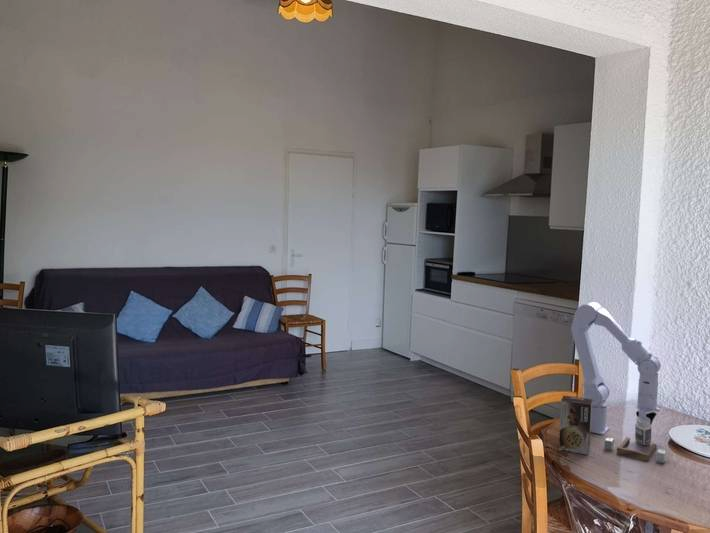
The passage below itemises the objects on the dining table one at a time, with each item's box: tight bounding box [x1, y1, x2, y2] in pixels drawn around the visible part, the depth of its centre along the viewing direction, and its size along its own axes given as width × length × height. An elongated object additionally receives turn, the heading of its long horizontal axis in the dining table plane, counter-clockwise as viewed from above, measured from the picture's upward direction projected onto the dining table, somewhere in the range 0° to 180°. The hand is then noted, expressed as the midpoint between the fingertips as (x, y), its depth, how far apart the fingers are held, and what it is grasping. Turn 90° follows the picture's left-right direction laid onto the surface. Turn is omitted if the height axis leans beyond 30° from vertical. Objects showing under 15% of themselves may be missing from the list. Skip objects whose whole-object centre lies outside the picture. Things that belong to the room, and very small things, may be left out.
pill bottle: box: [634, 416, 652, 446], centre depth 195 cm, size 5×5×8 cm
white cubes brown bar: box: [603, 436, 667, 464], centre depth 189 cm, size 17×13×3 cm
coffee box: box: [558, 395, 592, 456], centre depth 189 cm, size 9×6×16 cm
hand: (644, 433), depth 198 cm, fingers closed, pressing on pill bottle
